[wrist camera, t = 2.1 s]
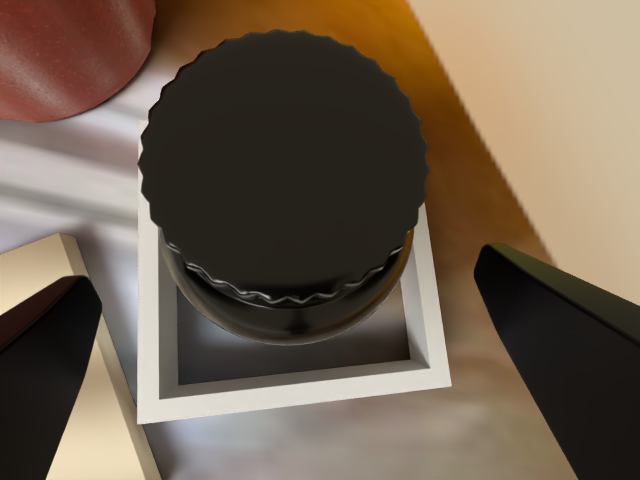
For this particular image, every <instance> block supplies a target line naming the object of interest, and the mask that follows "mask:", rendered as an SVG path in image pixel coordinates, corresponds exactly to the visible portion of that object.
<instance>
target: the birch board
mask: <svg viewBox="0 0 640 480" xmlns="http://www.w3.org/2000/svg"><path fill="white" fill-rule="evenodd" d="M70 275H86V276H87V277H88V278H89V275H88V272H87V269H86V267H85V264H84V261H83V258H82V255H81V253H80V250H79V247H78V244H77V241H76V239H75V238H74V237H71V236H68V235H65V234H62V233H56V234H54V235H51V236H49V237H46V238H43V239H41V240H38V241H35V242H33V243H30V244H27V245H25V246H22V247H20V248H17V249H14V250H12V251H9V252H6V253H4V254H1V255H0V315H1V314H3V313H5V312H6V311H8V310H9V309H11V308H13V307H14V306H16V305H17V304H19V303H21V302H22V301H24V300H26V299H27V298H29V297H30V296H32V295H34V294H35V293H37V292H38V291H40V290H42V289H43V288H45V287H47V286H48V285H50V284H51V283H53V282H55V281H56V280H58V279H60V278H61V277H64V276H70ZM89 279H90V278H89ZM46 480H162V479H161V477H160V474H159V471H158V468H157V465H156V463H155V460H154V457H153V454H152V451H151V449H150V446H149V443H148V440H147V437H146V435H145V432H144V429H143V426H142V424H138V425H137V409H136V407H135V404H134V401H133V398H132V395H131V393H130V390H129V387H128V384H127V381H126V379H125V376H124V373H123V370H122V367H121V365H120V362H119V359H118V356H117V353H116V351H115V348H114V345H113V342H112V339H111V337H110V334H109V331H108V328H107V325H106V323H105V320H104V317H103V314H101V318H100V322H99V326H98V329H97V333H96V337H95V341H94V345H93V349H92V353H91V357H90V360H89V364H88V368H87V371H86V375H85V378H84V381H83V384H82V386H81V389H80V392H79V394H78V397H77V400H76V402H75V405H74V407H73V410H72V413H71V415H70V418H69V420H68V423H67V426H66V428H65V431H64V433H63V436H62V439H61V441H60V444H59V447H58V449H57V452H56V454H55V457H54V460H53V462H52V465H51V467H50V470H49V473H48V475H47V478H46Z"/></svg>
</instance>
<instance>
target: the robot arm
mask: <svg viewBox="0 0 640 480" xmlns="http://www.w3.org/2000/svg"><path fill="white" fill-rule="evenodd" d="M474 279H475V282H476V284H477V287H478V289H479V291H480V294H481V296H482V298H483V301H484V303H485V306H486V308H487V310H488V313H489V315H490V317H491V320H492V322H493V324H494V327H495V329H496V331H497V333H498V335H499V337H500V339H501V341H502V343H503V345H504V346H505V348H506V350H507V352H508V354H509V355H510V357H511V359H512V361H513V363H514V364H515V366H516V368H517V370H518V372H519V373H520V375H521V377H522V379H523V381H524V382H525V384H526V386H527V388H528V390H529V391H530V393H531V395H532V397H533V399H534V401H535V402H536V404H537V406H538V408H539V410H540V411H541V413H542V415H543V417H544V419H545V420H546V422H547V424H548V426H549V428H550V429H551V431H552V433H553V435H554V437H555V438H556V440H557V442H558V444H559V446H560V447H561V449H562V451H563V453H564V455H565V456H566V458H567V460H568V462H569V464H570V465H571V467H572V469H573V471H574V473H575V474H576V476H577V478H578V480H640V306H638V305H636V304H634V303H632V302H630V301H628V300H625V299H623V298H621V297H619V296H617V295H614V294H612V293H610V292H608V291H606V290H603V289H601V288H599V287H597V286H594V285H593V284H590V283H588V282H586V281H584V280H581V279H579V278H577V277H575V276H573V275H571V274H569V273H566V272H564V271H562V270H560V269H558V268H555V267H553V266H551V265H549V264H547V263H544V262H542V261H540V260H538V259H536V258H534V257H531V256H529V255H527V254H525V253H523V252H520V251H518V250H516V249H514V248H512V247H509V246H507V245H505V244H502V243H494V244H486V245H484V246H483V247H482V249H481V251H480V254H479V257H478V260H477V263H476V266H475V269H474ZM101 314H102V303H101V300H100V298H99V296H98V294H97V292H96V290H95V288H94V286H93V284H92V282H91V281H90V279H89V278H88V277H87V276H86V275H70V276H64V277H61V278H60V279H58V280H56V281H55V282H53V283H51V284H50V285H48V286H47V287H45V288H43V289H42V290H40V291H38V292H37V293H35V294H34V295H32V296H30V297H29V298H27V299H26V300H24V301H22V302H21V303H19V304H17V305H16V306H14V307H13V308H11V309H9V310H8V311H6V312H5V313H3V314H1V315H0V480H46V478H47V475H48V473H49V470H50V467H51V465H52V462H53V460H54V457H55V454H56V452H57V449H58V447H59V444H60V441H61V439H62V436H63V433H64V431H65V428H66V426H67V423H68V420H69V418H70V415H71V413H72V410H73V407H74V405H75V402H76V400H77V397H78V394H79V392H80V389H81V386H82V384H83V381H84V378H85V375H86V371H87V368H88V364H89V360H90V357H91V353H92V349H93V345H94V341H95V337H96V333H97V329H98V326H99V322H100V318H101Z"/></svg>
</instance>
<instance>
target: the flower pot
mask: <svg viewBox="0 0 640 480" xmlns="http://www.w3.org/2000/svg"><path fill="white" fill-rule="evenodd" d="M155 16H156V4H155V0H0V118H2V119H13V120H21V121H28V122H33V123H43V122H50V121H56V120H60V119H65V118H68V117H71V116H75V115H77V114H80V113H82V112H84V111H87V110H89V109H91V108H93V107H95V106H97V105H99V104H100V103H102V102H103V101H105V100H107V99H108V98H110V97H111V96H113V95H114V94H115V93H117V92H118V91H119V90H121V89H122V88H123V87H124V86H125V85H126V84H127V83H128V82H129V81H130V80H131V79H132V78H133V77H134V76H135V74H136V73H137V72H138V71H139V69H140V68H141V66H142V65H143V63H144V62H145V60H146V58H147V56H148V54H149V52H150V50H151V36H152V28H153V22H154V17H155Z"/></svg>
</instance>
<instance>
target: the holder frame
mask: <svg viewBox="0 0 640 480" xmlns="http://www.w3.org/2000/svg"><path fill="white" fill-rule="evenodd" d="M148 122H149V120H141V121H139V158H140V155H141V153H142V151H143V147H142V144H141V138H140V136H141V134H142V133H143V131H144V129H145V128H146V127H147V125H148ZM138 161H139V159H138ZM142 179H143V175H142V174H141V172H140V169H139V167H138V357H137V425H138V424H146V423H155V422H163V421H171V420H179V419H187V418H196V417H204V416H212V415H220V414H229V413H237V412H245V411H253V410H261V409H270V408H278V407H286V406H294V405H302V404H311V403H319V402H327V401H335V400H343V399H352V398H360V397H368V396H376V395H385V394H393V393H401V392H409V391H417V390H426V389H434V388H442V387H450V386H451V379H450V372H449V366H448V359H447V352H446V345H445V338H444V332H443V325H442V318H441V311H440V305H439V298H438V291H437V284H436V277H435V271H434V264H433V257H432V250H431V244H430V237H429V230H428V223H427V216H426V210H425V203H423V204H422V206H421V207H420V208H419V217H418V223H417V225H416V226H415V227H414V238H413V243H412V249H411V252H410V256H409V259H408V262H407V265H406V267H405V270H404V272H403V274H402V276H401V278H400V281H401V289H402V297H403V305H404V312H405V320H406V328H407V336H408V343H409V351H410V359H411V360H402V361H393V362H384V363H375V364H366V365H357V366H348V367H339V368H330V369H321V370H312V371H303V372H294V373H285V374H276V375H267V376H258V377H249V378H241V379H232V380H223V381H214V382H205V383H196V384H187V385H178V335H177V284H176V282H175V280H174V279H173V277H172V275H171V273H170V271H169V268H168V266H167V263H166V261H165V258H164V254H163V251H162V247H161V241H160V235H159V228H158V227H157V226H156V225H155V224H154V223H153V222H152V221H151V219H150V212H149V202H147V200H146V199H145V198H144V196H143V195H142V193H141V184H142Z"/></svg>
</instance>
